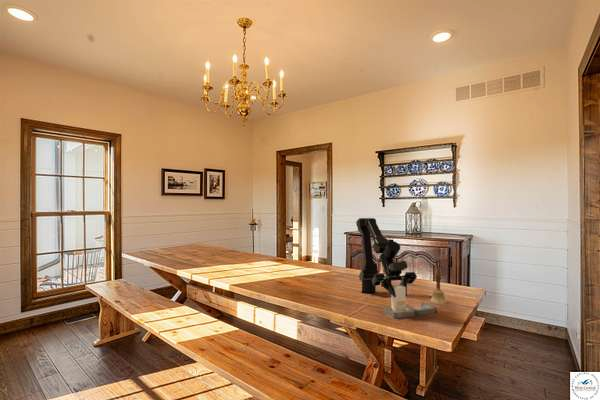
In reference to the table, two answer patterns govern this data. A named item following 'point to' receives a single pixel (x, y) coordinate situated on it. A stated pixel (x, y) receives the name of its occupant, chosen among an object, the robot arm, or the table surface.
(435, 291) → the hand bell
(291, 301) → the table surface
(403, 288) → the cream rectangular block
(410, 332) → the table surface
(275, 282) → the table surface
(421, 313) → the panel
